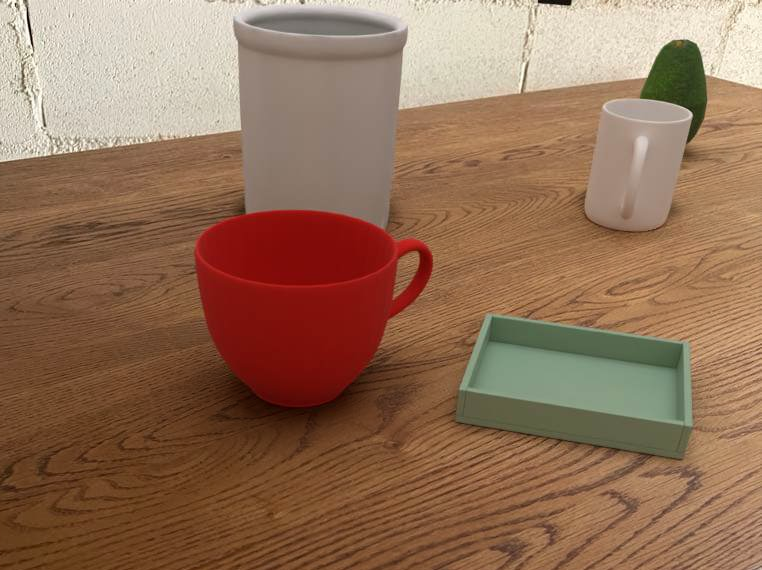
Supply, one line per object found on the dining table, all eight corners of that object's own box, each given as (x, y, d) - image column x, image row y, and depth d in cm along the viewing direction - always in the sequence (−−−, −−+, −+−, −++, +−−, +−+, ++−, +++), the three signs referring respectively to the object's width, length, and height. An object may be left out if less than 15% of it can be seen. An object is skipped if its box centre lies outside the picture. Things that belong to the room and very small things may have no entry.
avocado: (623, 139, 115) (645, 30, 107) (686, 142, 115) (713, 34, 107) (635, 159, 109) (660, 45, 101) (702, 162, 109) (732, 48, 101)
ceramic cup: (472, 392, 65) (489, 253, 59) (252, 452, 58) (245, 303, 52) (378, 318, 74) (384, 190, 67) (177, 363, 67) (163, 226, 61)
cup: (666, 208, 96) (692, 103, 89) (665, 251, 87) (693, 137, 80) (585, 199, 97) (605, 94, 91) (576, 240, 88) (597, 127, 82)
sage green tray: (681, 372, 68) (690, 341, 67) (682, 460, 59) (693, 426, 58) (482, 343, 71) (486, 312, 69) (454, 422, 62) (458, 389, 60)
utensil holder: (336, 187, 98) (340, -3, 87) (427, 232, 88) (443, 25, 77) (213, 213, 91) (200, 9, 80) (298, 264, 81) (296, 42, 70)
